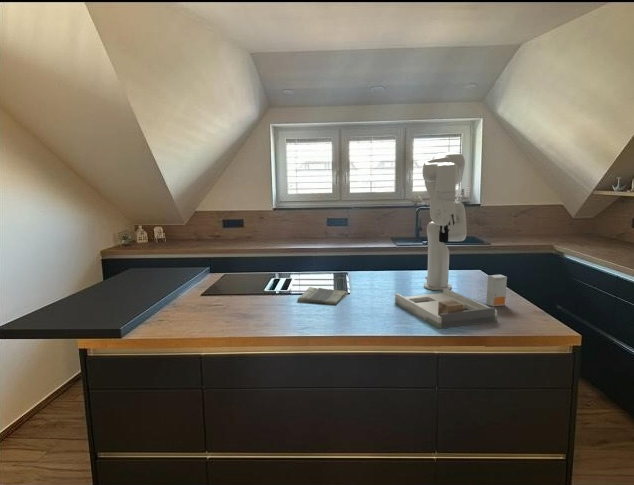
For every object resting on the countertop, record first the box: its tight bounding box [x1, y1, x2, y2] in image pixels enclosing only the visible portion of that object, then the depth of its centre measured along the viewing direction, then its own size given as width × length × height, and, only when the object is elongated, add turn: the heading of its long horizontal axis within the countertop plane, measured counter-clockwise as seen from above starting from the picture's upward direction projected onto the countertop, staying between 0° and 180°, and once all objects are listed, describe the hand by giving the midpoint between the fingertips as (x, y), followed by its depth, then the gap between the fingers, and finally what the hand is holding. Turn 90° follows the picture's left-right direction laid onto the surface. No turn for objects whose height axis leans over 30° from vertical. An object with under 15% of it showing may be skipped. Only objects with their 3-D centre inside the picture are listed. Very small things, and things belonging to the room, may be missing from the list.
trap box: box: [394, 288, 498, 330], centre depth 161 cm, size 32×24×5 cm
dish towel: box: [297, 286, 349, 306], centre depth 181 cm, size 19×18×3 cm
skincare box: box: [485, 274, 508, 307], centre depth 167 cm, size 6×4×12 cm
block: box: [438, 300, 463, 315], centre depth 149 cm, size 6×6×5 cm
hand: (443, 241), depth 166 cm, fingers closed
